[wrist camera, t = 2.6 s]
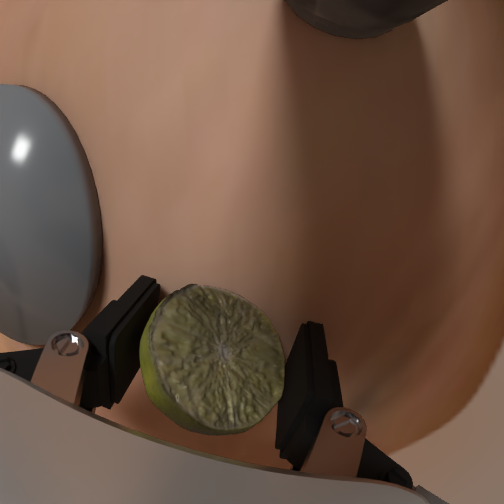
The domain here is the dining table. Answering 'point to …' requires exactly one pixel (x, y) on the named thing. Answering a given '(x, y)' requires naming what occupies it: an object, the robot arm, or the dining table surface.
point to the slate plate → (44, 219)
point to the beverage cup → (360, 15)
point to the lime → (211, 361)
